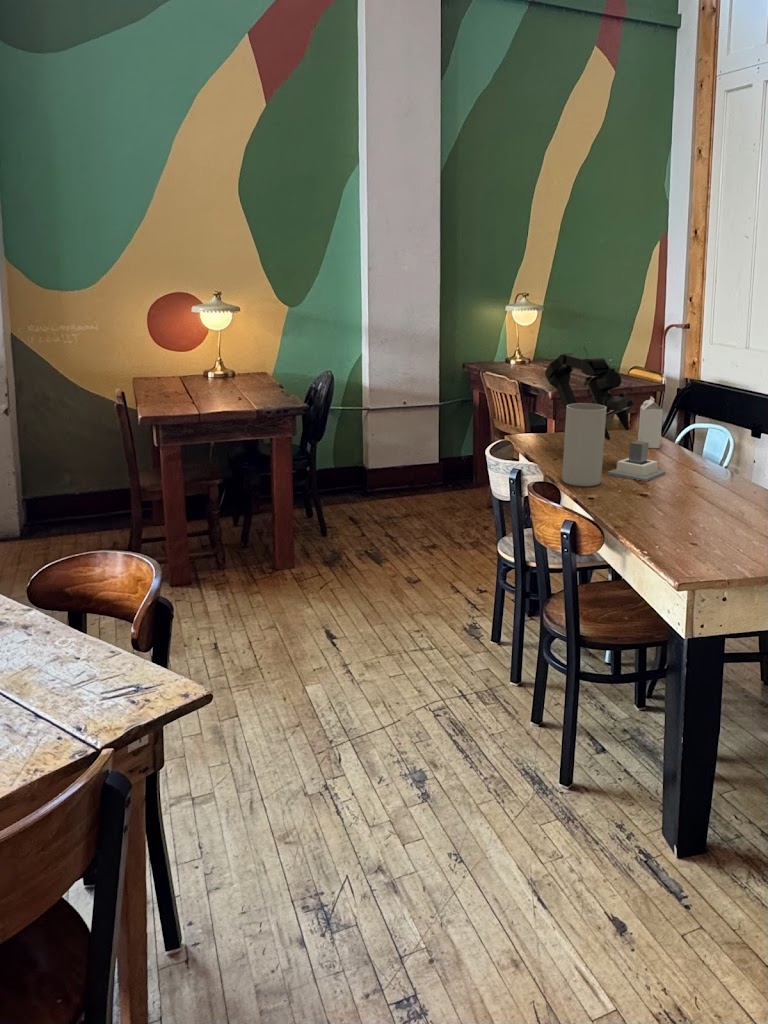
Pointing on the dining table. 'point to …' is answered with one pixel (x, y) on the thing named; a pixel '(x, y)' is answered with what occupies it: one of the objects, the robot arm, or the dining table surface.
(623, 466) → the socket block
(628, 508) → the dining table surface
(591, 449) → the cylinder vase
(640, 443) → the square bit
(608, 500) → the dining table surface
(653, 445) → the milk carton
